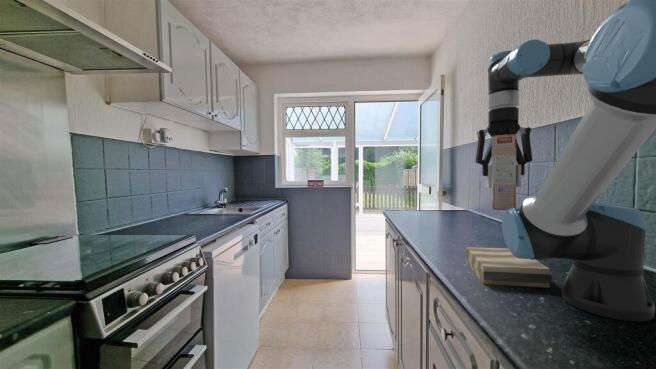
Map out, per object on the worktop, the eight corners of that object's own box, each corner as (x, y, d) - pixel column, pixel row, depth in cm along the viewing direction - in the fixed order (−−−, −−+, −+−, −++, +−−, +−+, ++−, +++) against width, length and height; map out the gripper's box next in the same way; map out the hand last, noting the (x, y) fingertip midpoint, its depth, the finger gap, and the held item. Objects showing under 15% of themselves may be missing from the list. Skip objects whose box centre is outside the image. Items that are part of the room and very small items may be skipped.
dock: (551, 289, 75) (552, 270, 74) (484, 285, 78) (484, 267, 78) (518, 263, 94) (519, 248, 94) (466, 261, 98) (466, 247, 97)
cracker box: (517, 211, 78) (517, 133, 77) (492, 210, 81) (491, 135, 80) (513, 204, 90) (512, 137, 89) (491, 204, 93) (490, 139, 92)
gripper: (535, 108, 85) (535, 185, 87) (463, 113, 90) (463, 186, 91) (549, 103, 78) (548, 187, 79) (469, 108, 83) (469, 188, 84)
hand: (502, 186), depth 85 cm, fingers closed on cracker box, 7 cm apart
